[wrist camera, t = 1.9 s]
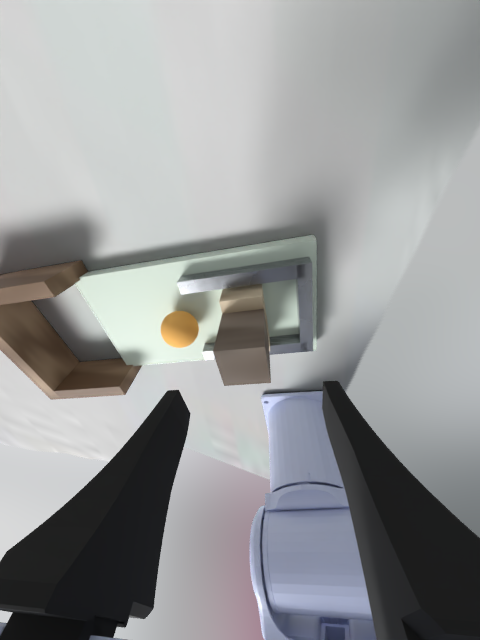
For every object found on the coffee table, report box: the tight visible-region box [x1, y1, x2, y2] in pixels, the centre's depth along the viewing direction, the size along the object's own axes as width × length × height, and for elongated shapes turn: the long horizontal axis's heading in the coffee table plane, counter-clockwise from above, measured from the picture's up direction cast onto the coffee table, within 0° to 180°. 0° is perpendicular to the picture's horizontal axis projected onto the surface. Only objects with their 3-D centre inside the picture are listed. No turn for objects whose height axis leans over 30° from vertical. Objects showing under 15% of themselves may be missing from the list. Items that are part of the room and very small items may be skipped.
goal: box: [0, 260, 142, 399], centre depth 21 cm, size 12×8×4 cm
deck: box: [75, 235, 317, 366], centre depth 20 cm, size 10×19×1 cm, turn 101°
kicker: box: [213, 284, 271, 386], centre depth 16 cm, size 5×3×6 cm, turn 11°
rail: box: [177, 257, 313, 360], centre depth 18 cm, size 8×10×1 cm
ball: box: [160, 311, 199, 348], centre depth 19 cm, size 3×3×3 cm
